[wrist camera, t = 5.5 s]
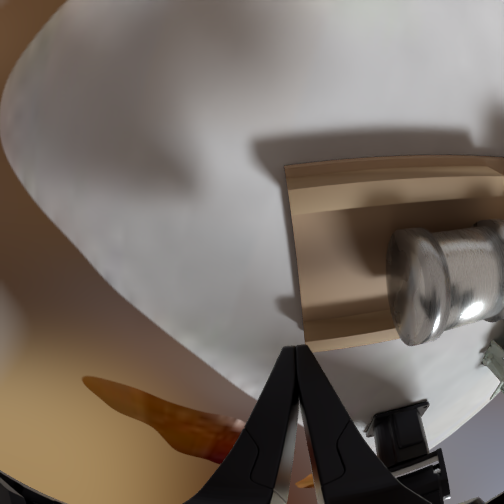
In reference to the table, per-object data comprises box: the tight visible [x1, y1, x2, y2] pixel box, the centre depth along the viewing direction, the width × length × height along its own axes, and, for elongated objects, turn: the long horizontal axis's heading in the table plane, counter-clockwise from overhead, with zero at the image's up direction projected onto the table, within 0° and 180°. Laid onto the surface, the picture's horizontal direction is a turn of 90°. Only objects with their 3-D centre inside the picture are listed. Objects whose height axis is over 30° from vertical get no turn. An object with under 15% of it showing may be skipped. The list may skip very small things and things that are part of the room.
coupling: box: [386, 219, 504, 346], centre depth 10 cm, size 5×6×5 cm
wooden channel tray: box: [284, 155, 504, 353], centre depth 9 cm, size 10×18×7 cm, turn 101°
